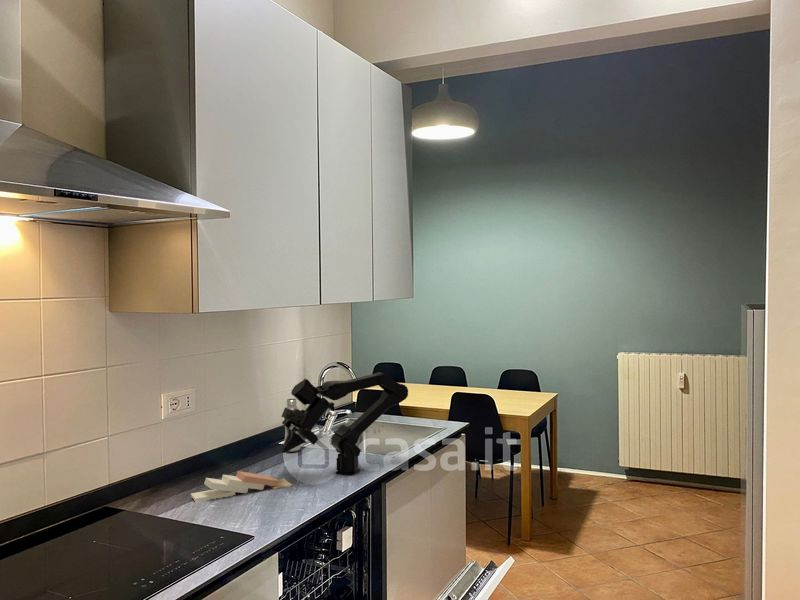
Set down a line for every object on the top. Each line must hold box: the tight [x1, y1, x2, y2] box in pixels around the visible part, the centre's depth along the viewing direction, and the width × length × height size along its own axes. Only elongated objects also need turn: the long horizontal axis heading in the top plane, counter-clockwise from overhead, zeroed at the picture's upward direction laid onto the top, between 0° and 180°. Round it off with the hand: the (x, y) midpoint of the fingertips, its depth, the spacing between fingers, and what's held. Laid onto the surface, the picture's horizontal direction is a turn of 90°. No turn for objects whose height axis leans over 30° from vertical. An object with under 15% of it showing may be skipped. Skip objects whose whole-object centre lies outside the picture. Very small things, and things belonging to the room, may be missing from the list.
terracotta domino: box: [235, 470, 279, 486], centre depth 199 cm, size 2×6×12 cm
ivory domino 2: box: [203, 477, 249, 494], centre depth 194 cm, size 2×6×12 cm
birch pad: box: [268, 478, 293, 490], centre depth 204 cm, size 6×8×1 cm
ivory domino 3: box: [220, 474, 265, 491], centre depth 197 cm, size 2×6×12 cm
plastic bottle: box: [283, 398, 302, 453], centre depth 244 cm, size 6×7×20 cm
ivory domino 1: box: [190, 489, 236, 503], centre depth 193 cm, size 2×6×12 cm
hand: (282, 452), depth 204 cm, fingers closed
